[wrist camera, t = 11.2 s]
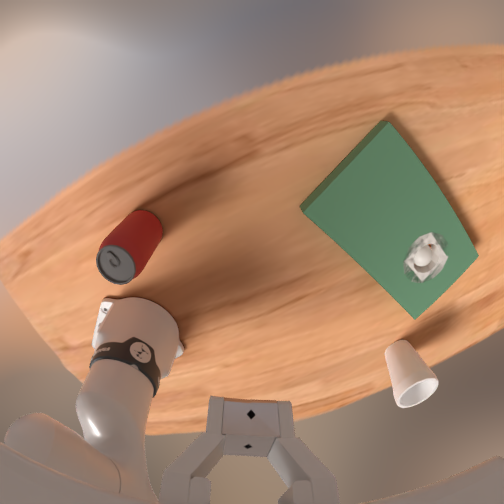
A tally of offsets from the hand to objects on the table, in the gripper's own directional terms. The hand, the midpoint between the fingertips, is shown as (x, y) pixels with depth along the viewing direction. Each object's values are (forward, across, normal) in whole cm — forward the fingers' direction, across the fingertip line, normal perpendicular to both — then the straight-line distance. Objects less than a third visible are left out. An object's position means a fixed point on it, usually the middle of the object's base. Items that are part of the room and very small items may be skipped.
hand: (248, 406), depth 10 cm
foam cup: (+35, -37, +31) cm, 60 cm away
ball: (+33, -30, +7) cm, 45 cm away
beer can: (+35, +16, +9) cm, 40 cm away
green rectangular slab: (+35, -26, +4) cm, 44 cm away
